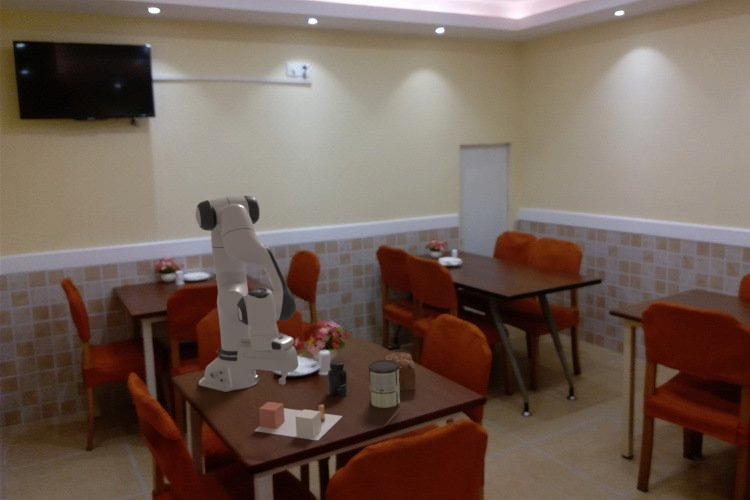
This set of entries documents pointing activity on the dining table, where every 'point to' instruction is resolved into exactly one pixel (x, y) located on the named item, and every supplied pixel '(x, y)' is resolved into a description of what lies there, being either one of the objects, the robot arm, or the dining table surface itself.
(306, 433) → the pale grey cube
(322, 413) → the bronze cylinder
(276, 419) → the salmon red cube
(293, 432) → the plate
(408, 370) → the bread
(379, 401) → the coffee can
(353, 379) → the dining table surface
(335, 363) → the supplement bottle
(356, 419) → the dining table surface
